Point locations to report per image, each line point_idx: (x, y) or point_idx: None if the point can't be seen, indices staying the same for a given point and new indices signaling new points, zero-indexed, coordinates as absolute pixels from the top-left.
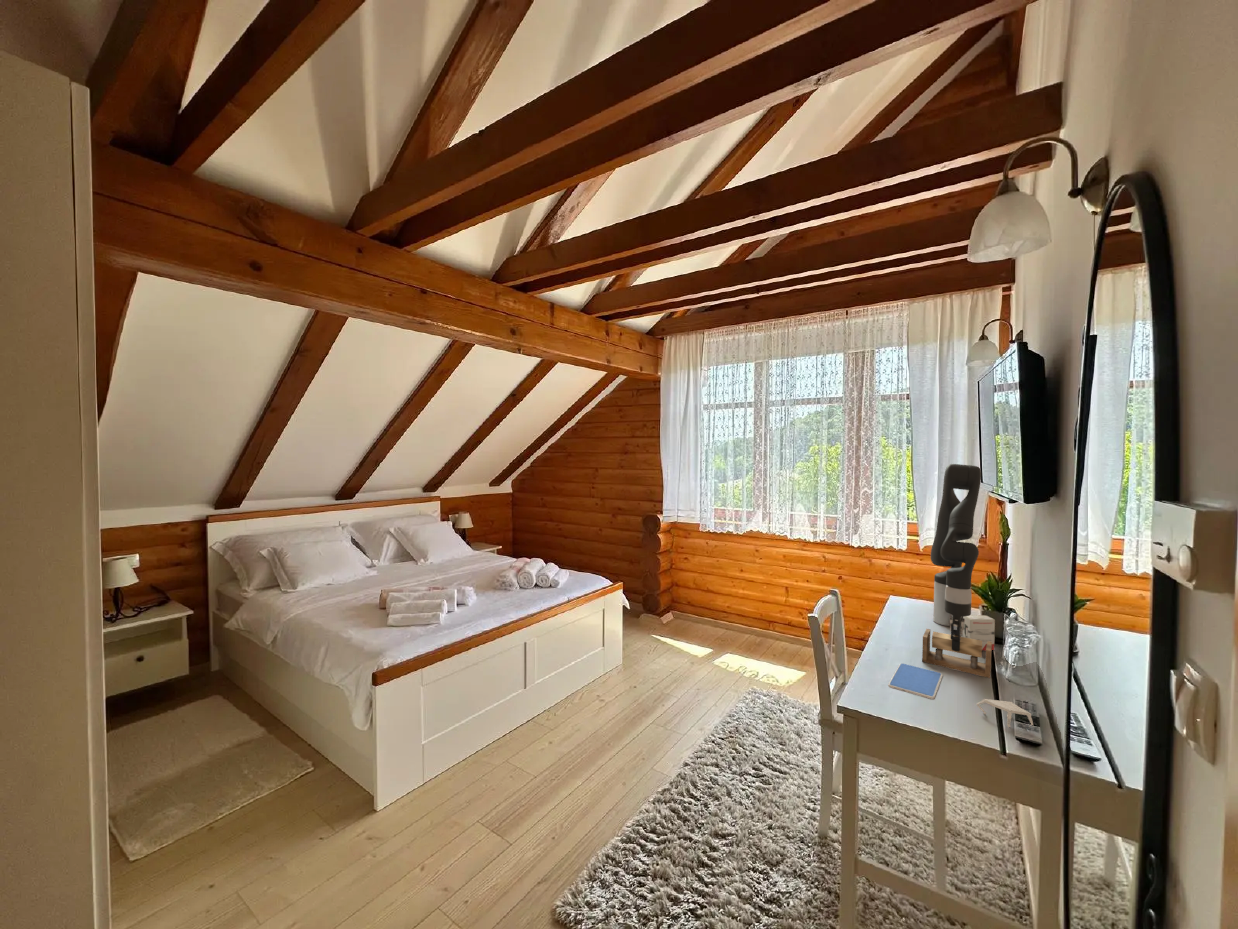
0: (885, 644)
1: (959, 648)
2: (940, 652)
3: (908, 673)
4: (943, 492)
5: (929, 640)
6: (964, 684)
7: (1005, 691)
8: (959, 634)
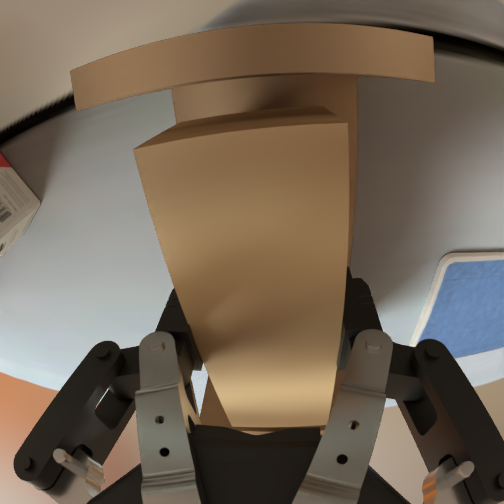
0: None
1: (353, 280)
2: None
3: (476, 334)
4: None
5: None
6: (489, 171)
7: (461, 9)
8: (481, 401)
